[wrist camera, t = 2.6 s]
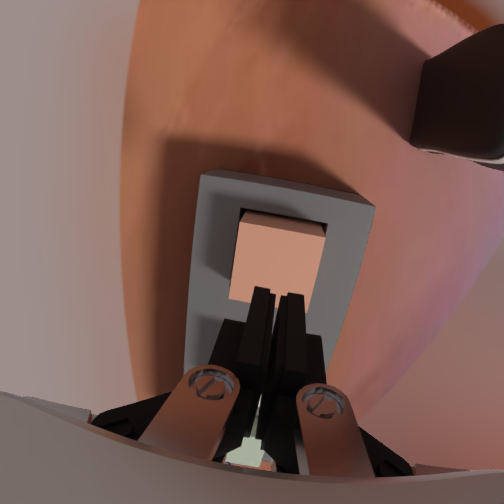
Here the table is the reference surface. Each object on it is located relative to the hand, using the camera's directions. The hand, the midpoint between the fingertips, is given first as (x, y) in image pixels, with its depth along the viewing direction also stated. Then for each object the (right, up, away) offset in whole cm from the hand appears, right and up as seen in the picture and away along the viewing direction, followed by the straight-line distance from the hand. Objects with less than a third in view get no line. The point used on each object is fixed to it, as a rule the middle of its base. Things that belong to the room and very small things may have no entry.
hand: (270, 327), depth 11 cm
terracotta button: (+1, +3, +9) cm, 10 cm away
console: (0, -4, +14) cm, 15 cm away
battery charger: (+12, +12, +8) cm, 19 cm away
